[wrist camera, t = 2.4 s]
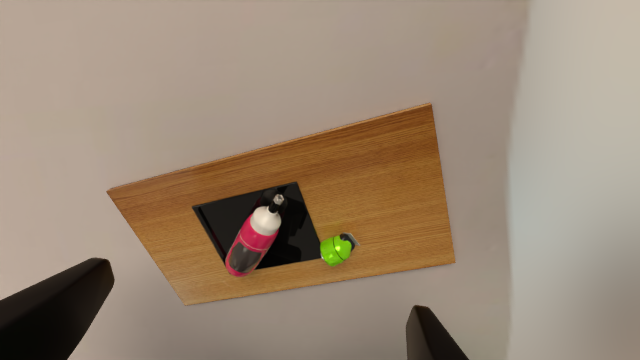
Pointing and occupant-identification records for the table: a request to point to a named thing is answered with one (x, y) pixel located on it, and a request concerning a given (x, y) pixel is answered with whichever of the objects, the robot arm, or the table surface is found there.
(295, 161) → the board
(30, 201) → the table surface
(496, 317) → the table surface
